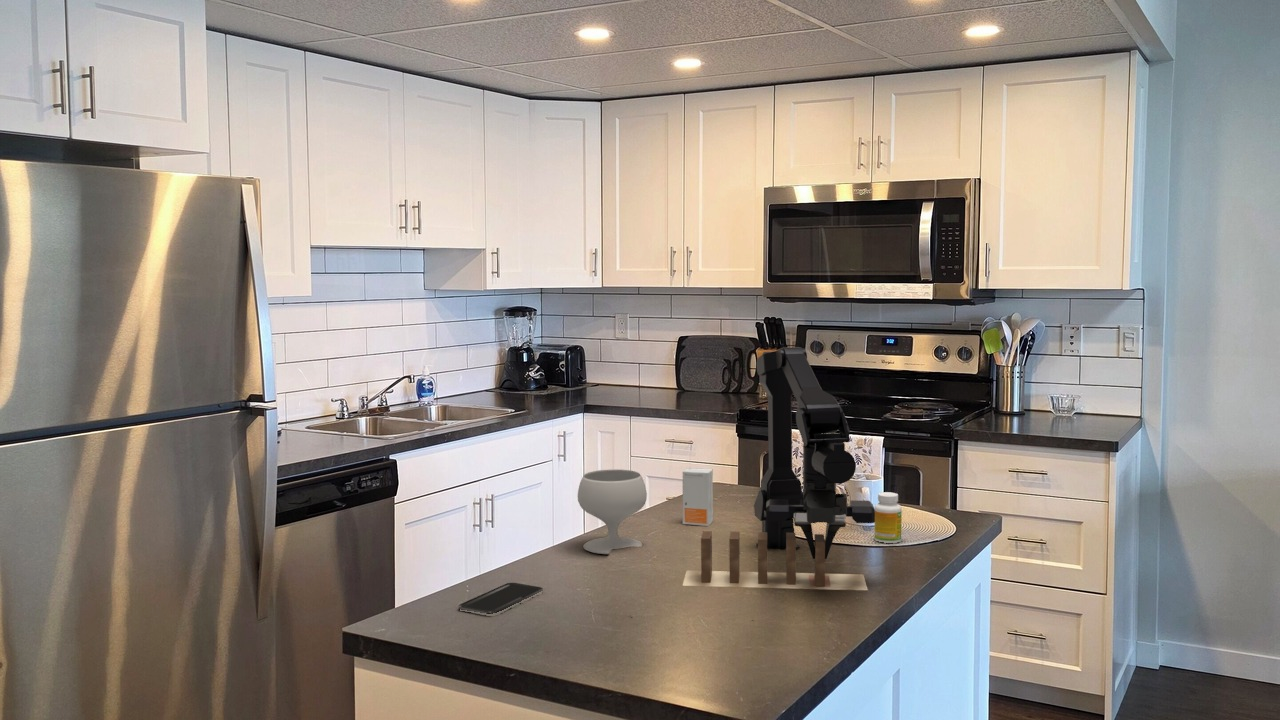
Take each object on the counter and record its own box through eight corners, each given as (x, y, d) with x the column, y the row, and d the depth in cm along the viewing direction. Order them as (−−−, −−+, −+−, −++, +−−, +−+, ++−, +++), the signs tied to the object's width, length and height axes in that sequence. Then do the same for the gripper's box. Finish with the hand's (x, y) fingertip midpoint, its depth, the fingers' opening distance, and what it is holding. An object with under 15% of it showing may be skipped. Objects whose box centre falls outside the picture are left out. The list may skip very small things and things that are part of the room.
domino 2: (729, 583, 186) (729, 538, 186) (730, 574, 191) (730, 531, 190) (738, 583, 186) (738, 539, 185) (739, 574, 191) (739, 531, 190)
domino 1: (701, 582, 187) (700, 538, 186) (703, 574, 192) (702, 531, 191) (710, 582, 187) (710, 538, 186) (712, 574, 192) (711, 531, 191)
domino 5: (815, 586, 184) (815, 541, 183) (814, 577, 189) (814, 534, 188) (824, 586, 183) (825, 541, 183) (823, 578, 188) (823, 534, 188)
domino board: (682, 591, 185) (682, 585, 185) (686, 575, 194) (686, 570, 194) (867, 595, 181) (867, 590, 181) (863, 579, 190) (863, 574, 190)
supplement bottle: (901, 544, 213) (902, 497, 212) (874, 543, 214) (874, 496, 213) (900, 537, 218) (901, 491, 217) (874, 536, 219) (874, 490, 218)
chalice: (629, 535, 223) (627, 465, 222) (659, 551, 211) (658, 477, 209) (568, 544, 217) (566, 472, 216) (595, 561, 205) (594, 485, 203)
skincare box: (682, 525, 231) (681, 471, 230) (687, 520, 235) (686, 467, 234) (709, 526, 229) (708, 472, 228) (713, 521, 233) (713, 468, 232)
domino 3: (758, 583, 186) (757, 539, 185) (758, 575, 191) (758, 532, 190) (767, 584, 185) (767, 539, 185) (767, 575, 190) (767, 532, 190)
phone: (455, 606, 177) (510, 581, 190) (456, 612, 177) (510, 587, 190) (492, 613, 173) (545, 587, 186) (493, 620, 173) (546, 594, 186)
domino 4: (786, 584, 185) (786, 540, 184) (786, 576, 190) (786, 532, 189) (795, 584, 185) (795, 540, 184) (795, 576, 190) (795, 532, 189)
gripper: (765, 481, 178) (766, 571, 180) (878, 482, 176) (877, 573, 177) (766, 467, 189) (766, 552, 191) (872, 468, 187) (871, 554, 188)
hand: (819, 558), depth 186 cm, fingers closed on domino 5, 2 cm apart
